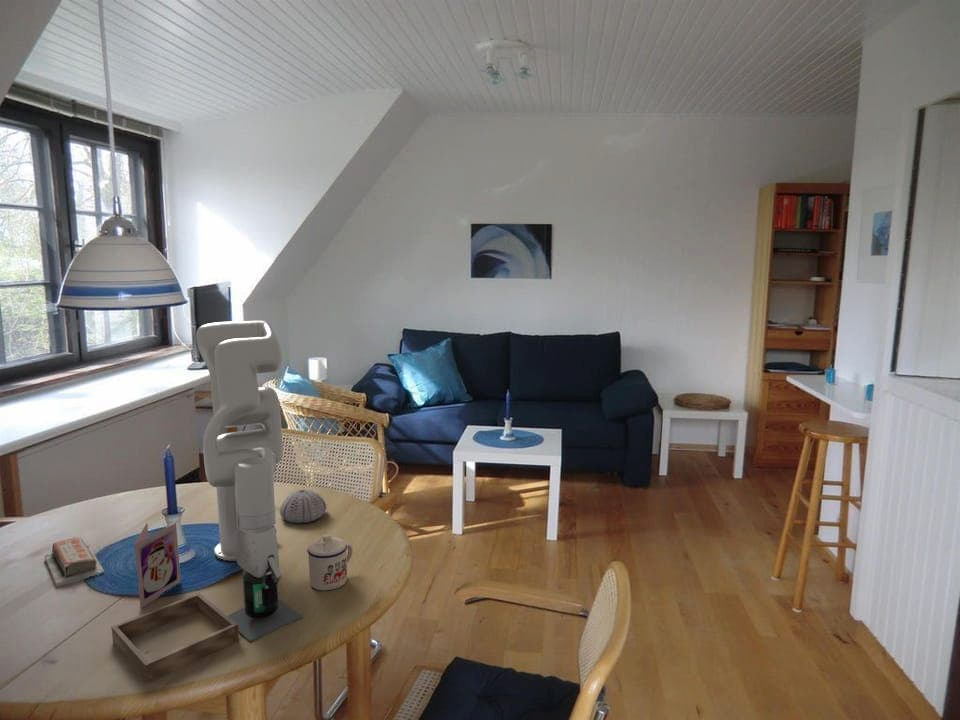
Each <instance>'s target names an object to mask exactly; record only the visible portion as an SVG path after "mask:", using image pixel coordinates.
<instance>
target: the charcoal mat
mask: <svg viewBox="0 0 960 720" xmlns="http://www.w3.org/2000/svg"><path fill="white" fill-rule="evenodd" d="M226 615H227V616H228V617H229V618H231V619H232V620H233V621H234V622H235V623H237V624H238V632H239V635H240V636H241V637H243V638H244V639H246V641H248V642H249V643H252V642H254V641H257V640H258V639H260V638H262V637H265V636H266V635H269V634H271V633H273V632H275V631H277V630H279V629H282V628H284V627H286V626H288V625H290V624H292V623H294V622H296V621H298V620H301V619H303V617H304V616H303V615H302V614H300V613H299V612H298V611H296V610H295V609H293V608H292V607H290V606H289V605H287V604H286V603H284V602H283V601H282V600H281V599H279V598H278V608H277V610H276V611H275V612H274V613H273V614H272V615H270V616H268V617H264V618H251V617H248V616H247V615H246V614H245V610H244V607H243V608H241V609H238V610H236V611H234V612H231V613H229V614H226Z"/></svg>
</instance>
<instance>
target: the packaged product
mask: <svg viewBox="0 0 960 720" xmlns="http://www.w3.org/2000/svg"><path fill="white" fill-rule="evenodd" d="M51 552H52V553H51V554H46V555H44V560H45V562H46V565H47V567H48V571H49V573H50V576H51V578H52V579H53V582H54V584H55V585H56V587H57V588H58V587H59V588H60V587H63V586H66V584H67V585H69V583H70V584H73V583H72V582H74V583H76V582H75V581H77V582H80V581H79V580H81V581H83V580H82V579H84V578H86V577H89V576H93V575H95V574H98V573H101V572H104V573H105V570H104V568H103V566H102V565H101V563H100V561H99V559H98V558H97V557H96V556H95V554H94V552H93V550H92V548H91V547H90V545H86V543H85V541H84V539H83V538H81V537H71V538H68V539H64V540H60V541H57V542H53V543H52V549H51ZM84 580H85V579H84Z"/></svg>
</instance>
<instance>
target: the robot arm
mask: <svg viewBox="0 0 960 720" xmlns="http://www.w3.org/2000/svg"><path fill="white" fill-rule="evenodd" d="M196 344H197V348H198V351H199V353H200V355H201V358H202V360H203V361H204V363H205V365H206V368H207V370H208V373H209V379H210V390H211V403H212V412H213V416H212V417H211V419H210V420H209V421H208V424H207V426H206V427H205V430H204V433H203V437H202V451H203V462H204V464H203V465H204V471H205V477H206V480H207V482H208V484H209V485H210V486H211V487H214V488H216V489H215V490H216V500H217V501H216V502H217V514H218V530H219V543H218V544H216V546H215V547H214V550H213V551H214V556H215V555H216V556H217V557H218V558H217V557H216V556H215V557H216V558H217V559H219V558H220V559H219V560H221V559H223V560H222V561H226V560H227V561H228V562H229V561H230V562H236V563H237V565H238V566H239V567H240V568H242V571H241V572H242V575H243V574H244V572H245V571H247V572H249V573H250V574H252V575H253V576H255V577H257V578H261V580H262V583H263V587H264V588H262V604H263V606H268V605H270V604H272V603H274V602H277V600H278V599H279V596H278V595H279V594H277V590H278V585H279V582H280V579H281V578H282V572H281V570H280V555H279V545H278V544H279V543H278V539H277V537H278V536H277V531H278V530H277V528H276V526H275V525H276V523H277V521H276V507H275V506H276V503H275V488H274V487H275V484H274V482H275V480H274V475H275V472H276V471H277V464H278V463H279V462H281V461H282V459H283V456H284V440H283V429H282V428H283V427H282V416H281V405H280V399H279V397H278V394H277V392H276V390H275V389H274V388H272V387H269V386H259V383H258V382H259V380H258V375H257V374H265V373H274V372H277V371H279V370H280V368H281V366H282V362H283V361H282V359H283V358H282V349H281V346H280V343H279V339H278V337H277V335H276V333H275V330H274V329H273V326H272V325H271V324H270V323H269V322H268V321H265V320H244V321H243V320H241V321H235V320H234V321H232V320H231V321H218V322H210V323H206V324H202V325H201V326H199V327H198V328H197V331H196ZM256 425H261V426H262V429H252V430H241V431H239V430H238V431H232V432H226V433H222V434H220V432H222V430H223V429H224V428H236V427H237V428H239V427H245V426H246V427H247V426H256ZM227 561H226V562H227ZM268 568H269V569H270V571H268V572H266V570H267V569H268ZM269 574H271V577H272V578H270V579H269V580H268V581H267V579H266V576H267V575H269Z"/></svg>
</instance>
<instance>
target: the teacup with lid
mask: <svg viewBox="0 0 960 720" xmlns="http://www.w3.org/2000/svg"><path fill="white" fill-rule="evenodd" d="M306 550H307V551H306V552H307V553H308V570H309V571H308V572H309V585H310V586H311V588H313V589H316V590H319V591H331V590H336V589H338V588H341V587H342V586H344V585H345V584H346V582H347V580H348V569H347V568H348V567H347V564H348V563H350V561H351V559H352V556H353V553H354V552H353V551H354V550H353V546H352V545H351V544H349V543H346V541H345V540H344V539H342V538H339V537H335V536H334V537H332V535H331V534H329V533H326V534H323V535H322V538H318V539H316V540H314V541H312V542H311V543H310V544H309V545H308V546H307V549H306Z"/></svg>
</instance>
